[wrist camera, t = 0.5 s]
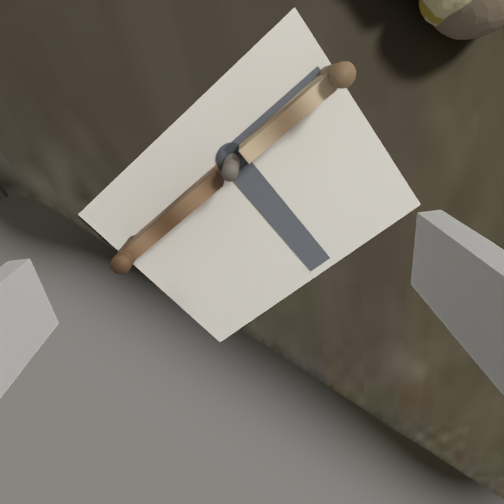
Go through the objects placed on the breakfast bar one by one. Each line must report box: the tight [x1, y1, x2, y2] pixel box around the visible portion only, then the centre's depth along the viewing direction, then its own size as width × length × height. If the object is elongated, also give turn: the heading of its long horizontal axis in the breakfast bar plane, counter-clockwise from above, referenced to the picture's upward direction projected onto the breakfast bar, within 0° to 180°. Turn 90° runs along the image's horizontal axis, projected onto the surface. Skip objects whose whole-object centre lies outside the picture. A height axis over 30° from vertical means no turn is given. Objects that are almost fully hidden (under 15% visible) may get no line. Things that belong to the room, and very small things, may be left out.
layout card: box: [78, 7, 421, 342], centre depth 36 cm, size 22×28×1 cm
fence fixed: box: [221, 61, 356, 182], centre depth 30 cm, size 13×2×6 cm, turn 130°
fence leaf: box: [110, 165, 224, 274], centre depth 33 cm, size 13×2×5 cm, turn 130°
